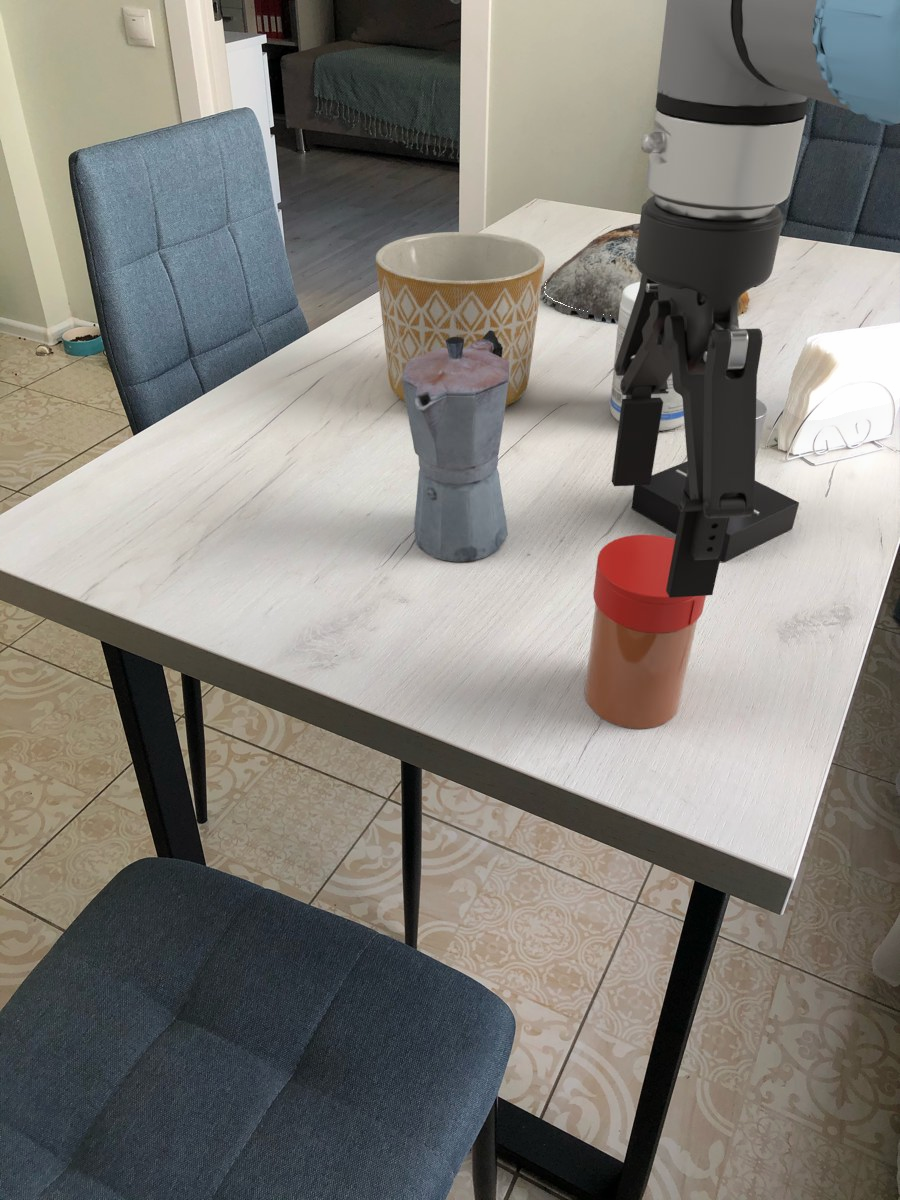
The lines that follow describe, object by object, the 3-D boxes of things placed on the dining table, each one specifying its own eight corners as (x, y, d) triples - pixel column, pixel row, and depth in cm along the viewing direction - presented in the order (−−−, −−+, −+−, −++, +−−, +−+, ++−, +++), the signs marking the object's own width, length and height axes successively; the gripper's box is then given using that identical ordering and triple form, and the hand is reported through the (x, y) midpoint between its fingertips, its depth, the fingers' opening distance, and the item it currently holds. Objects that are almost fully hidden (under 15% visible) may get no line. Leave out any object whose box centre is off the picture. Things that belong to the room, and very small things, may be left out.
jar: (699, 703, 71) (727, 579, 64) (632, 743, 68) (653, 616, 61) (631, 654, 76) (650, 533, 69) (565, 688, 72) (578, 565, 65)
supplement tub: (700, 410, 113) (722, 287, 104) (674, 441, 106) (695, 313, 97) (624, 393, 117) (640, 273, 108) (595, 422, 110) (608, 296, 101)
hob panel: (793, 528, 91) (800, 500, 89) (723, 563, 86) (729, 534, 85) (699, 479, 99) (704, 452, 97) (630, 508, 94) (634, 480, 92)
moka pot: (379, 565, 86) (369, 355, 74) (445, 488, 97) (446, 295, 85) (476, 589, 83) (482, 374, 71) (532, 507, 94) (546, 310, 82)
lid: (727, 607, 66) (735, 571, 64) (650, 647, 62) (656, 611, 60) (646, 557, 71) (652, 523, 69) (570, 592, 67) (574, 557, 65)
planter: (565, 405, 114) (577, 266, 104) (422, 437, 106) (420, 291, 97) (488, 350, 127) (492, 224, 118) (357, 376, 120) (349, 243, 110)
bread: (770, 328, 135) (785, 257, 129) (544, 324, 136) (548, 254, 130) (729, 269, 157) (741, 206, 151) (535, 266, 158) (538, 204, 152)
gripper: (591, 151, 60) (564, 448, 73) (726, 276, 40) (655, 656, 53) (705, 149, 61) (658, 444, 73) (892, 272, 41) (783, 647, 54)
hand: (657, 533), depth 63 cm, fingers open, 13 cm apart
